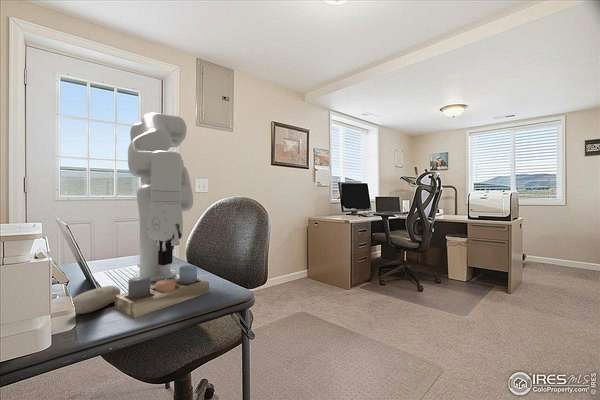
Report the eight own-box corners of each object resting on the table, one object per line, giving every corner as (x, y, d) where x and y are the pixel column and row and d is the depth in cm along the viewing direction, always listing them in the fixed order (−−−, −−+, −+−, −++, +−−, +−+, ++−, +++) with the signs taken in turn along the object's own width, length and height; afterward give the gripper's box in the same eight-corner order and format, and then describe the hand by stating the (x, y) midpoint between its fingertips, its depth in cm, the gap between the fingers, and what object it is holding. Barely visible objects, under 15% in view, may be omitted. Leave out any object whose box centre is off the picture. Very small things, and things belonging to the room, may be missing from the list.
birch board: (114, 307, 72) (114, 295, 71) (188, 285, 89) (188, 276, 89) (135, 317, 66) (135, 305, 66) (209, 292, 84) (209, 282, 84)
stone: (129, 290, 77) (93, 292, 65) (117, 313, 75) (78, 319, 64) (112, 281, 78) (74, 282, 66) (100, 303, 77) (59, 308, 65)
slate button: (175, 281, 83) (175, 267, 83) (190, 277, 87) (190, 264, 87) (186, 284, 80) (186, 270, 80) (200, 280, 84) (200, 266, 84)
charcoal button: (124, 295, 71) (124, 279, 71) (143, 290, 75) (144, 275, 75) (134, 299, 68) (134, 283, 68) (154, 294, 72) (154, 278, 72)
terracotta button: (152, 297, 77) (152, 282, 77) (168, 292, 81) (168, 278, 81) (162, 301, 74) (162, 286, 74) (178, 296, 78) (179, 281, 78)
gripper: (137, 195, 78) (137, 261, 79) (169, 199, 70) (168, 273, 71) (163, 195, 84) (162, 256, 85) (195, 199, 76) (194, 266, 77)
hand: (165, 263), depth 78 cm, fingers closed
